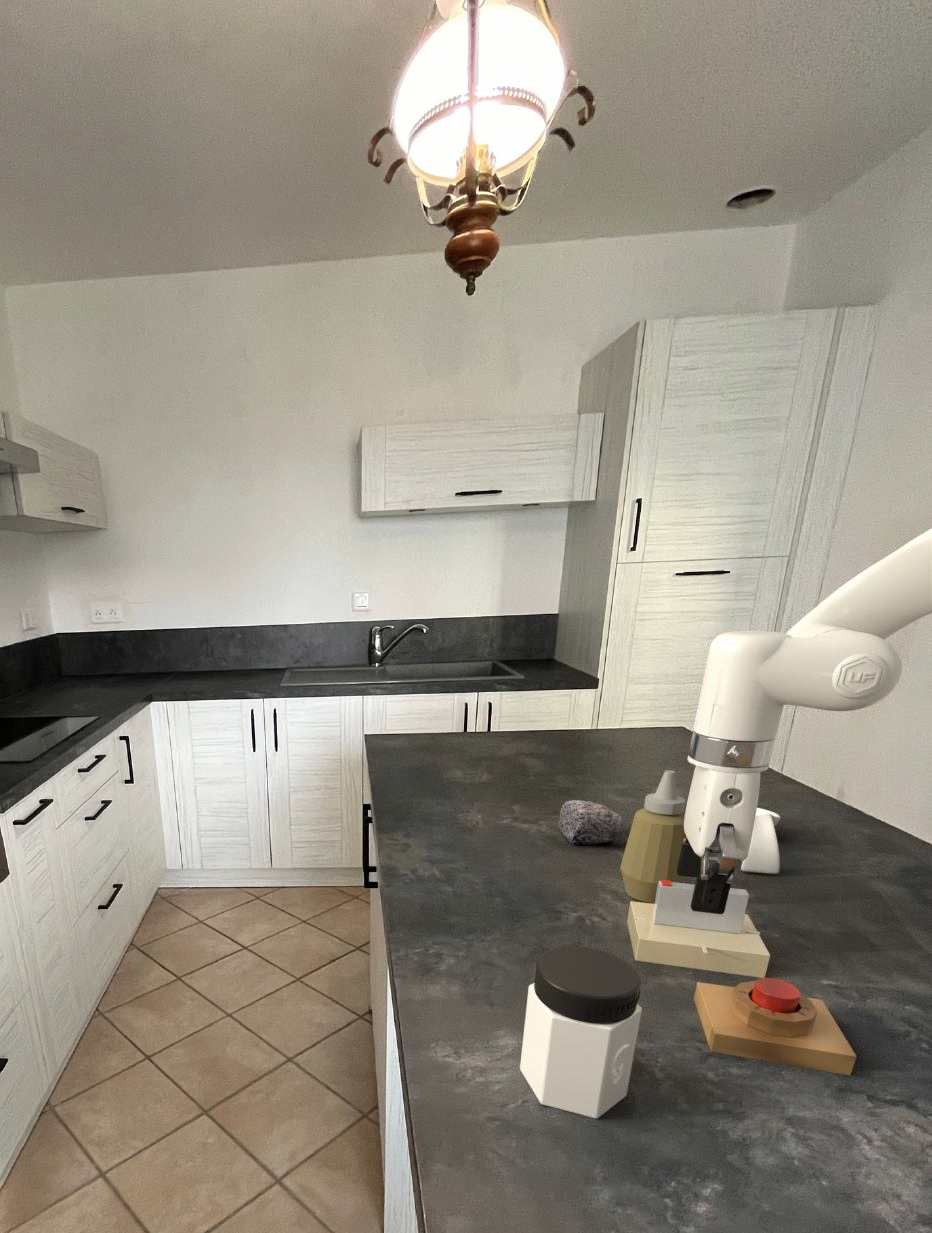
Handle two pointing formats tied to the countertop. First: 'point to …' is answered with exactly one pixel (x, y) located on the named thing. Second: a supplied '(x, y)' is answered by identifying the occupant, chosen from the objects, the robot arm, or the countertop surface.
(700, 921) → the red-tipped gray slab
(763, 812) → the spoon rest
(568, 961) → the jar
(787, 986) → the button
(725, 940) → the base
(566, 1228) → the countertop surface
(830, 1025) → the button block
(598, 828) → the pumice stone
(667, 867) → the squeeze bottle
